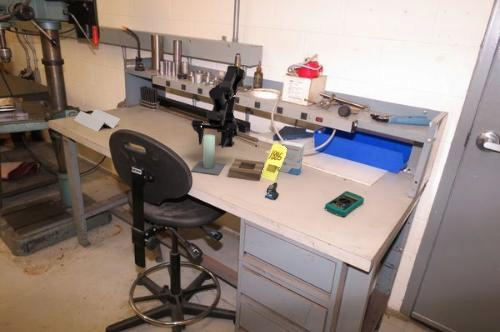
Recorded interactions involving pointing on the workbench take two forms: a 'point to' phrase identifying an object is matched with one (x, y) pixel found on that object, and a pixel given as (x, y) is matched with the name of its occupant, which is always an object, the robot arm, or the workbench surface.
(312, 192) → the workbench surface
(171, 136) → the workbench surface
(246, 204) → the workbench surface
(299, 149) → the ink box
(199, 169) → the mat
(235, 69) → the robot arm
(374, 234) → the workbench surface
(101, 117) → the z bracket
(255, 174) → the socket block
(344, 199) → the digital multimeter
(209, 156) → the pin
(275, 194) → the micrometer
